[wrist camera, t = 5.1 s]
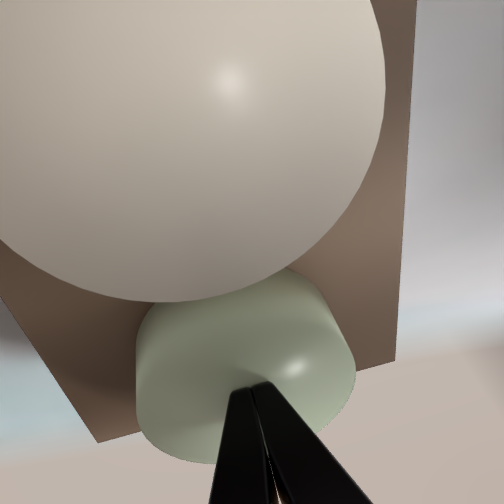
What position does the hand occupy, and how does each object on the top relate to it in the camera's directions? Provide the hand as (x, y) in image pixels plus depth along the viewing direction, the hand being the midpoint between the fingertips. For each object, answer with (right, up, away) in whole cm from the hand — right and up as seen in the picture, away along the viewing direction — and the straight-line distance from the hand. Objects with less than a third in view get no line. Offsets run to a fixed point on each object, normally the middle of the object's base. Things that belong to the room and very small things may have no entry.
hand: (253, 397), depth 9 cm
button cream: (-1, +5, -3) cm, 6 cm away
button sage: (0, +1, +1) cm, 2 cm away
